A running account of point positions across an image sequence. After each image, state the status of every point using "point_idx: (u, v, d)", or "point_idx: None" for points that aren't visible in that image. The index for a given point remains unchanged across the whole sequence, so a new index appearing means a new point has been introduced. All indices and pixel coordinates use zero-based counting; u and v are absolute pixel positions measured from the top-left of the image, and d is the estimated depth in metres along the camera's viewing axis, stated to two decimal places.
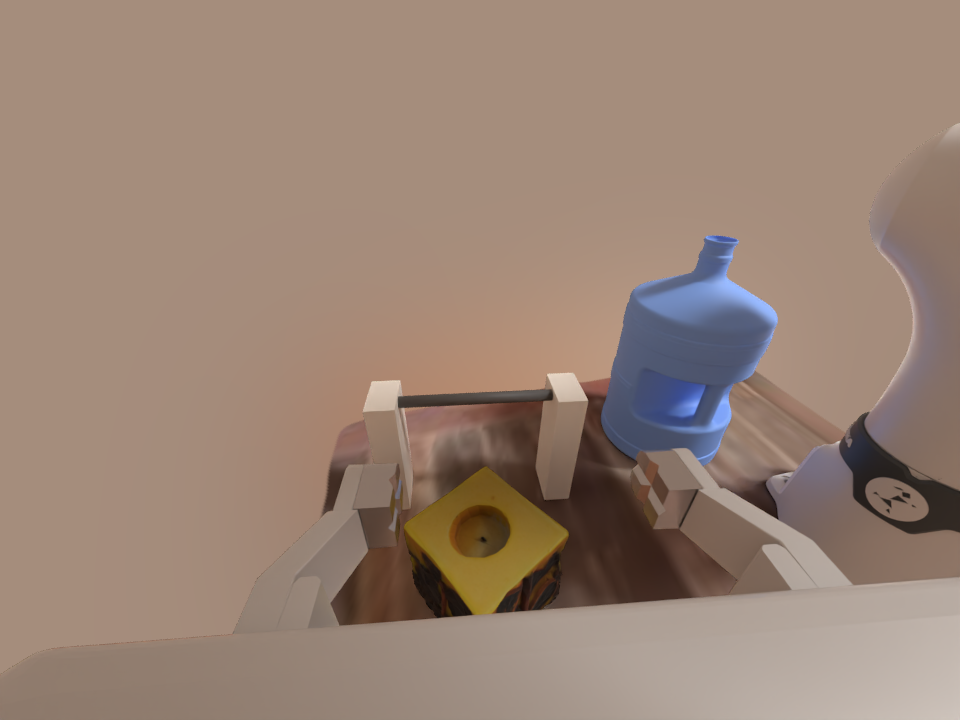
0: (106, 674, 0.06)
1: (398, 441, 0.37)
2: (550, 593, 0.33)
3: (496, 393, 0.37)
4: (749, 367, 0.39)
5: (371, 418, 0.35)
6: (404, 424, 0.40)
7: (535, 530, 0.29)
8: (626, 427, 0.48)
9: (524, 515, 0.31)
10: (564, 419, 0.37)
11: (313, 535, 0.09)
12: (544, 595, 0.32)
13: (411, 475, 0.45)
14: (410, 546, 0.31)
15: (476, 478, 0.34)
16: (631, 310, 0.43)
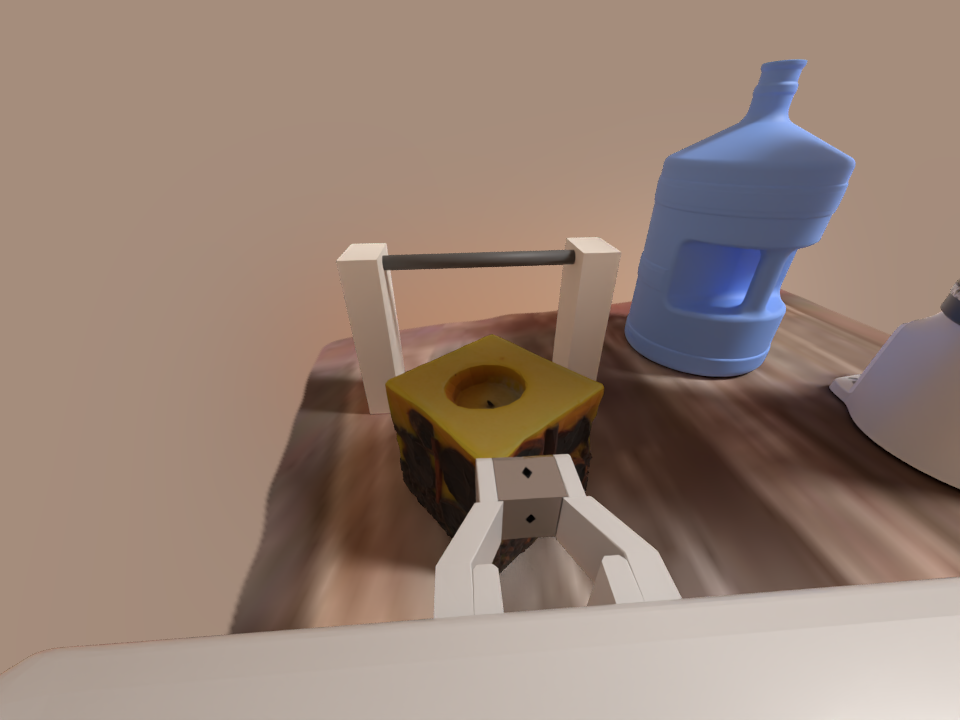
0: (106, 674, 0.06)
1: (383, 309, 0.29)
2: None
3: (505, 252, 0.30)
4: (819, 224, 0.31)
5: (347, 271, 0.28)
6: (392, 304, 0.33)
7: (559, 384, 0.22)
8: (657, 326, 0.40)
9: (543, 372, 0.23)
10: (589, 281, 0.29)
11: (472, 525, 0.09)
12: None
13: None
14: (395, 415, 0.24)
15: (481, 343, 0.27)
16: (666, 174, 0.36)
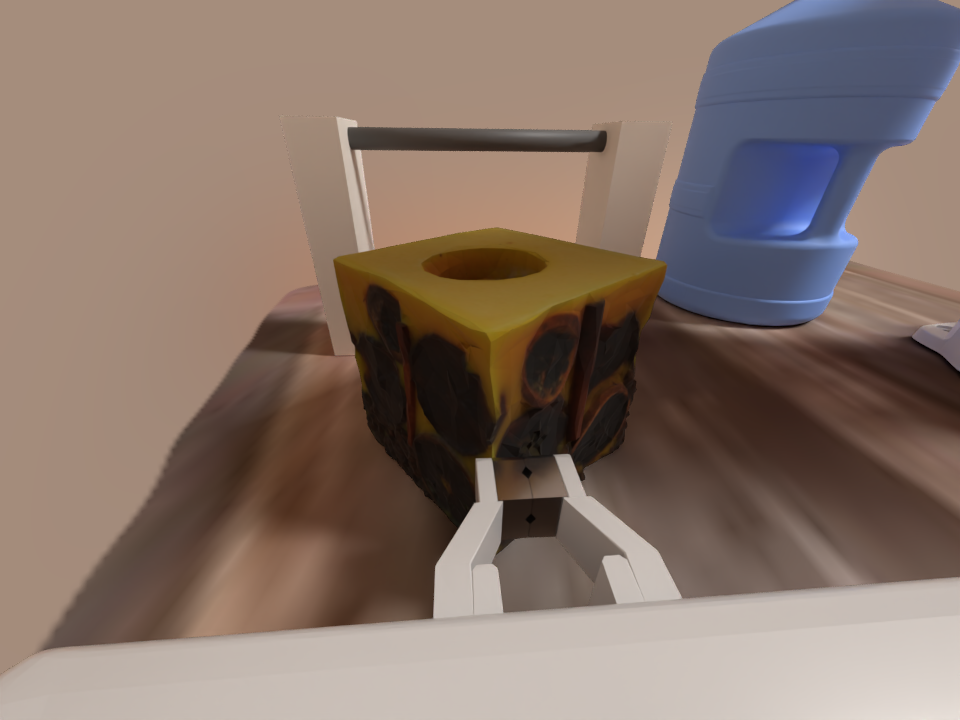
0: (106, 674, 0.06)
1: (347, 198, 0.22)
2: (613, 429, 0.18)
3: (514, 129, 0.22)
4: (923, 110, 0.24)
5: (295, 134, 0.20)
6: (365, 208, 0.26)
7: (598, 262, 0.15)
8: (697, 263, 0.33)
9: (572, 253, 0.16)
10: (627, 166, 0.22)
11: (471, 525, 0.09)
12: (606, 421, 0.17)
13: None
14: (350, 314, 0.16)
15: (479, 232, 0.19)
16: (716, 62, 0.29)
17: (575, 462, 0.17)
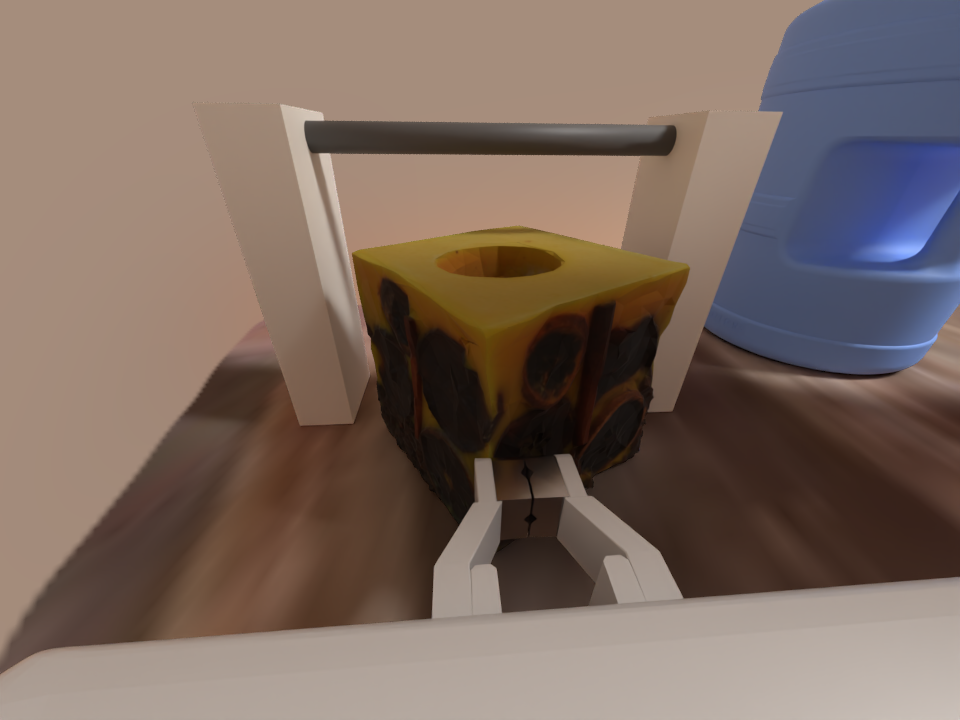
0: (106, 674, 0.06)
1: (305, 224, 0.15)
2: (627, 437, 0.17)
3: None
4: None
5: (219, 131, 0.13)
6: (337, 232, 0.19)
7: (615, 262, 0.14)
8: (763, 294, 0.26)
9: (590, 252, 0.15)
10: (709, 177, 0.15)
11: (470, 525, 0.09)
12: (618, 428, 0.16)
13: (362, 366, 0.23)
14: (366, 306, 0.16)
15: (500, 230, 0.19)
16: (802, 36, 0.22)
17: (584, 468, 0.16)
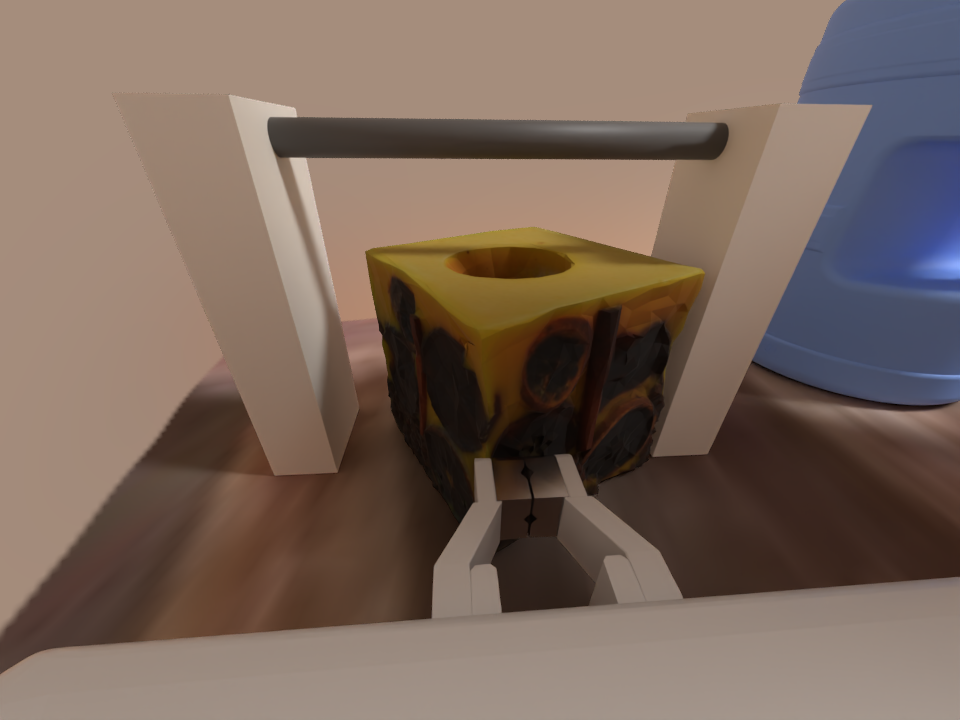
0: (106, 674, 0.06)
1: (269, 246, 0.12)
2: (635, 444, 0.17)
3: None
4: None
5: (151, 129, 0.10)
6: (316, 251, 0.16)
7: (627, 266, 0.14)
8: (804, 314, 0.23)
9: (602, 255, 0.15)
10: (773, 187, 0.12)
11: (470, 525, 0.09)
12: (626, 435, 0.16)
13: (349, 401, 0.20)
14: (378, 304, 0.17)
15: (514, 231, 0.19)
16: (857, 20, 0.19)
17: (589, 474, 0.16)
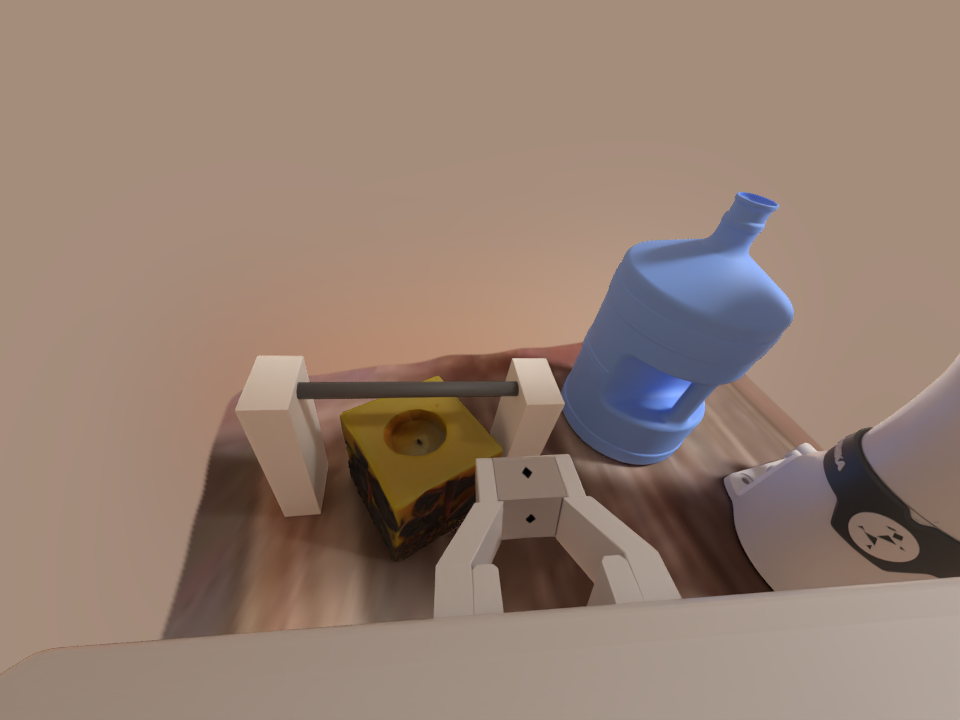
0: (106, 674, 0.06)
1: (297, 446, 0.25)
2: None
3: (444, 385, 0.27)
4: (749, 366, 0.33)
5: (250, 418, 0.23)
6: (311, 413, 0.29)
7: (470, 441, 0.29)
8: (591, 414, 0.41)
9: (463, 427, 0.30)
10: (530, 423, 0.28)
11: (471, 525, 0.09)
12: (470, 503, 0.33)
13: (324, 469, 0.34)
14: (346, 436, 0.31)
15: None
16: (624, 279, 0.34)
17: (452, 518, 0.33)
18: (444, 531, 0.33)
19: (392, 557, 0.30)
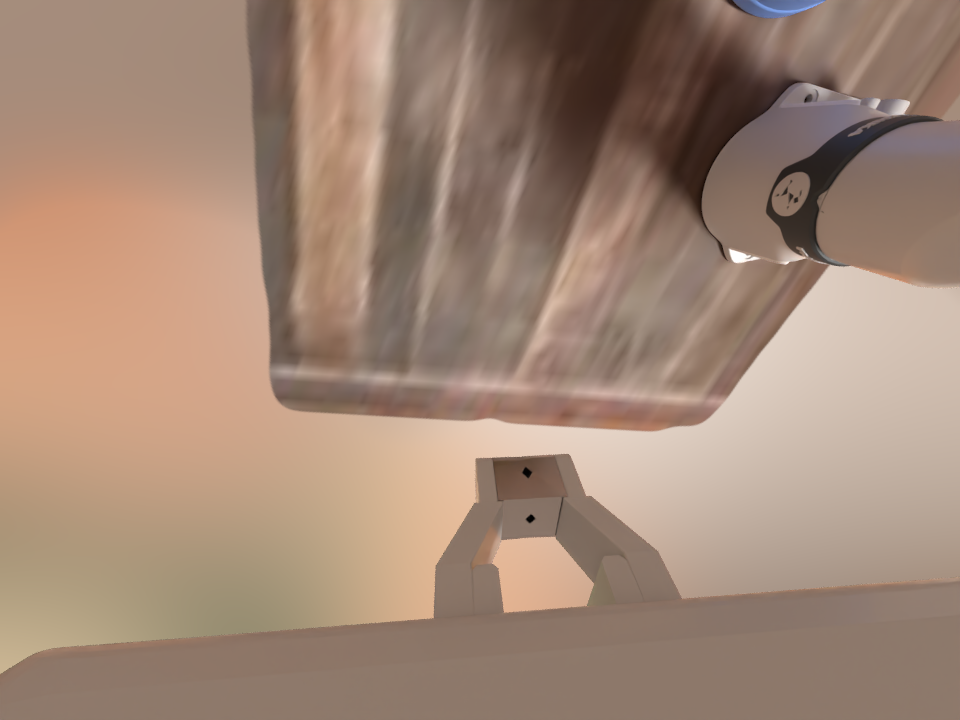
0: (106, 674, 0.06)
1: None
2: None
3: None
4: None
5: None
6: None
7: None
8: None
9: None
10: None
11: (471, 525, 0.09)
12: None
13: None
14: None
15: None
16: None
17: None
18: None
19: None
